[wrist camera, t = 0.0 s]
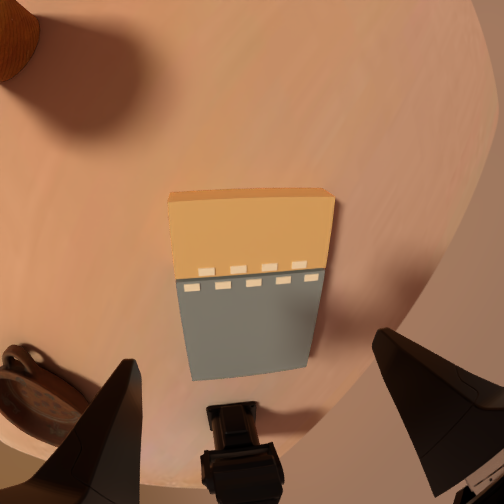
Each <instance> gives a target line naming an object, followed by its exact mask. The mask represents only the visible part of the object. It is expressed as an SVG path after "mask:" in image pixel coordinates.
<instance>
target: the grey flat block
mask: <svg viewBox="0 0 504 504" xmlns="http://www.w3.org/2000/svg"><path fill="white" fill-rule="evenodd" d="M324 275H325V270H324V268H315V269H304V270H292V271H280V272H268V273H256V274H243V275H230V276H216V277H202V278H187V279H176V288H177V295H178V302H179V309H180V315H181V321H182V327H183V333H184V339H185V345H186V350H187V356H188V361H189V366H190V372H191V377H192V381H200V380H213V379H224V378H234V377H243V376H251V375H259V374H266V373H273V372H279V371H286V370H292V369H297V368H303V367H306V366H307V362H308V357H309V353H310V348H311V343H312V339H313V334H314V329H315V324H316V319H317V314H318V309H319V303H320V298H321V292H322V287H323V281H324Z"/></svg>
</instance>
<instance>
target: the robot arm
mask: <svg viewBox="0 0 504 504" xmlns="http://www.w3.org/2000/svg"><path fill="white" fill-rule="evenodd" d="M372 350H373V352H374V355H375V358H376V360H377V363H378V366H379V369H380V371H381V374H382V377H383V379H384V382H385V384H386V386H387V388H388V390H389V392H390V394H391V397H392V399H393V401H394V403H395V405H396V407H397V409H398V411H399V413H400V416H401V418H402V420H403V422H404V425H405V427H406V429H407V431H408V434H409V436H410V438H411V440H412V443H413V445H414V448H415V450H416V452H417V455H418V457H419V459H420V462H421V465H422V467H423V469H424V472H425V474H426V477H427V479H428V482H429V484H430V487H431V490H432V492H433V494H434V497H435V498H436V497H437V496H439V495H441V494H442V493H444V492H446V491H447V490H449V489H450V488H452V487H453V486H455V485H456V484H458V483H459V482H461V481H462V480H464V479H465V481H466V483H467V485H466V486H465V487H463V488H462V489H461V490H459V491H458V492H457V493H456V496H455V499H454V503H453V504H504V387H501V386H499V385H497V384H494V383H492V382H490V381H487V380H485V379H483V378H481V377H478V376H476V375H474V374H472V373H470V372H468V371H466V370H464V369H462V368H460V367H459V366H456V365H455V364H453V363H451V362H450V361H447V360H446V359H444V358H442V357H440V356H439V355H437V354H435V353H433V352H431V351H430V350H428V349H426V348H424V347H422V346H421V345H419V344H417V343H415V342H413V341H411V340H410V339H408V338H406V337H404V336H402V335H401V334H398V333H397V332H395V331H393V330H392V329H390V328H387V327H385V328H381V329H378V330H377V332H376V335H375V338H374V340H373V343H372ZM206 411H207V416H208V421H209V426H210V430H211V431H213V437H214V444H215V450H211V451H208V450H204V454H203V455H201V456H200V459H201V471H202V484H203V485H205V486H206V487H207V489H208V490H209V492H210V494H216V499H217V502H218V504H278V503H279V500H280V498H281V495H282V492H283V488H282V485H283V484H284V473H283V469H282V465H281V463H280V460H279V457H278V455H277V452H276V450H275V447H274V444H273V442H270V443H268V444H261V445H260V443H259V439H258V435H257V431H256V427H255V419H256V403H255V402H248V403H240V404H231V405H221V406H210V407H207V408H206ZM142 418H143V414H142V379H141V373H140V371H139V368H138V365H137V363H136V360H135V359H123V360H122V361H121V363H120V364H119V365H118V367H117V368H116V369H115V371H114V372H113V373H112V375H111V376H110V377H109V379H108V380H107V381H106V383H105V384H104V385H103V387H102V388H101V389H100V391H99V392H98V394H97V395H96V396H95V398H94V399H93V400H92V402H91V403H90V405H89V406H88V407H87V409H86V410H85V411H84V413H83V414H82V416H81V417H80V418H79V420H78V421H77V423H76V424H75V425H74V428H72V430H71V431H70V432H69V434H68V435H67V437H66V438H65V439H64V441H63V442H62V443H61V445H60V446H59V447H58V448H57V449H56V451H55V452H54V453H53V454H52V455H51V456H50V458H49V459H48V460H47V461H46V462H45V463H44V464H43V465H42V467H41V468H40V469H39V470H38V471H37V472H36V474H34V475H33V476H32V477H31V478H30V479H29V480H27V481H25V482H24V483H21V484H18V485H15V486H11V487H8V488H4V489H0V504H139V485H140V452H141V434H142Z"/></svg>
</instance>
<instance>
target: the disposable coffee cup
mask: <svg viewBox="0 0 504 504" xmlns="http://www.w3.org/2000/svg"><path fill="white" fill-rule="evenodd" d="M39 32H40V28H39V23H38V20H37V19H36V17H35V16H33V15H32V14H31V13H30V12H29V11H27V10H26V9H25V8H24V7H23V6H22V5H20V4H19V3H18V2H17V1H16V0H0V82H2V81H6V80H8V79H10V78H12V77H14V76H15V75H16V74H18V73H19V72H20V71H21V70H22V69H23V68H24V66H25V65H26V64H27V63H28V61H29V60H30V58H31V56H32V55H33V53H34V51H35V48H36V45H37V43H38V39H39Z"/></svg>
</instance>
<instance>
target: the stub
mask: <svg viewBox="0 0 504 504" xmlns="http://www.w3.org/2000/svg"><path fill="white" fill-rule="evenodd" d="M167 204H168V216H169V227H170V237H171V247H172V256H173V264H174V272H175V279H187V278H202V277H216V276H230V275H243V274H256V273H268V272H280V271H292V270H304V269H315V268H326V262H327V256H328V249H329V242H330V235H331V228H332V221H333V213H334V204H335V196H333V195H332V194H330V193H329V192H327V191H326V190H324V189H323V188H255V189H225V190H203V191H186V192H171V193H170V195H169V198H168V202H167Z"/></svg>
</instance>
